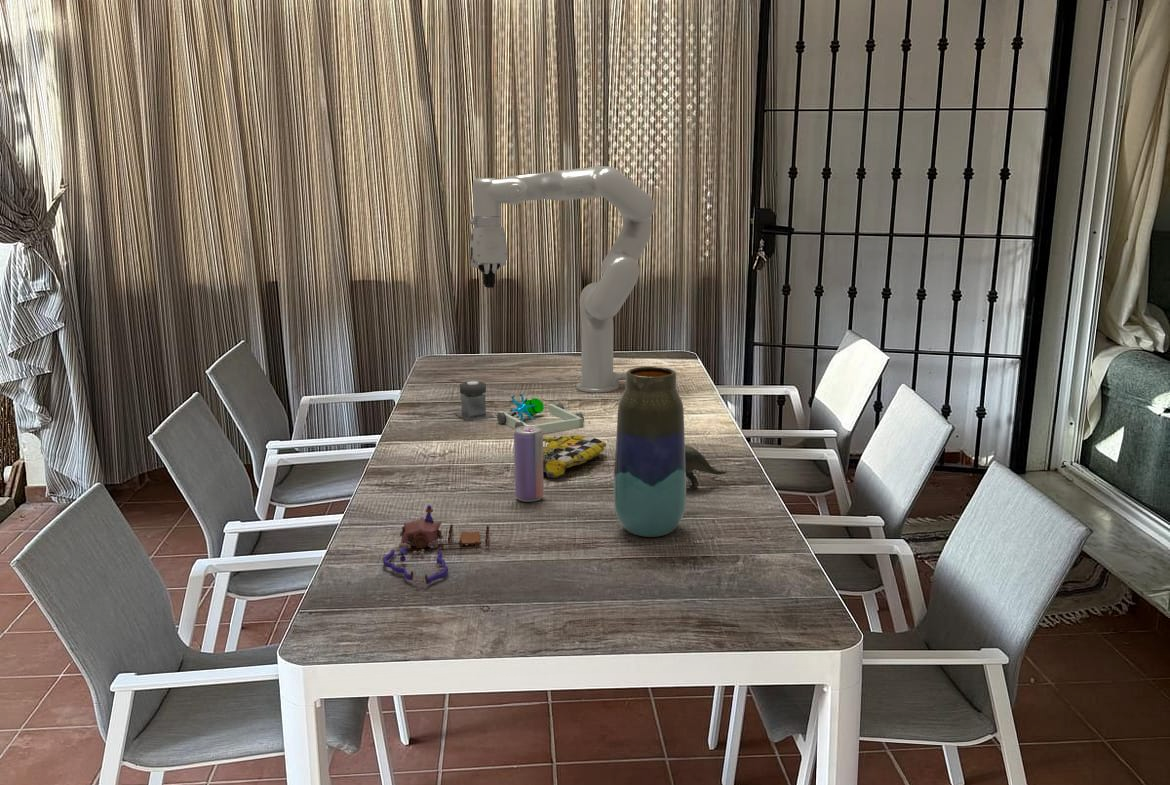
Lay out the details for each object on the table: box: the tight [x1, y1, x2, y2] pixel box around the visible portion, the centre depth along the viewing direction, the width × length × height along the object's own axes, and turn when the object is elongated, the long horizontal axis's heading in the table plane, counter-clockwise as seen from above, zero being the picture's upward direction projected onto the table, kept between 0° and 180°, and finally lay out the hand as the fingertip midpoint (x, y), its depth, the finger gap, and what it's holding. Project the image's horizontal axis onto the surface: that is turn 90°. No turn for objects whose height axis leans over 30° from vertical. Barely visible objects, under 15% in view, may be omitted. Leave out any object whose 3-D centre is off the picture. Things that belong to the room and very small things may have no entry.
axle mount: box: [454, 393, 494, 422], centre depth 282 cm, size 8×8×6 cm
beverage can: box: [513, 426, 545, 503], centre depth 216 cm, size 6×6×15 cm
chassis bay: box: [496, 403, 585, 435], centre depth 274 cm, size 19×18×3 cm
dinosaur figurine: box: [685, 444, 728, 490], centre depth 222 cm, size 22×8×11 cm, turn 71°
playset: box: [382, 504, 490, 585], centre depth 188 cm, size 25×19×7 cm
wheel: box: [459, 380, 487, 396], centre depth 281 cm, size 7×7×5 cm
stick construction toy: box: [509, 393, 545, 423], centre depth 279 cm, size 12×7×8 cm
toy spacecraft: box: [543, 434, 607, 479], centre depth 240 cm, size 17×23×5 cm
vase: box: [613, 366, 687, 538], centre depth 196 cm, size 14×14×31 cm
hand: (489, 287), depth 298 cm, fingers closed
